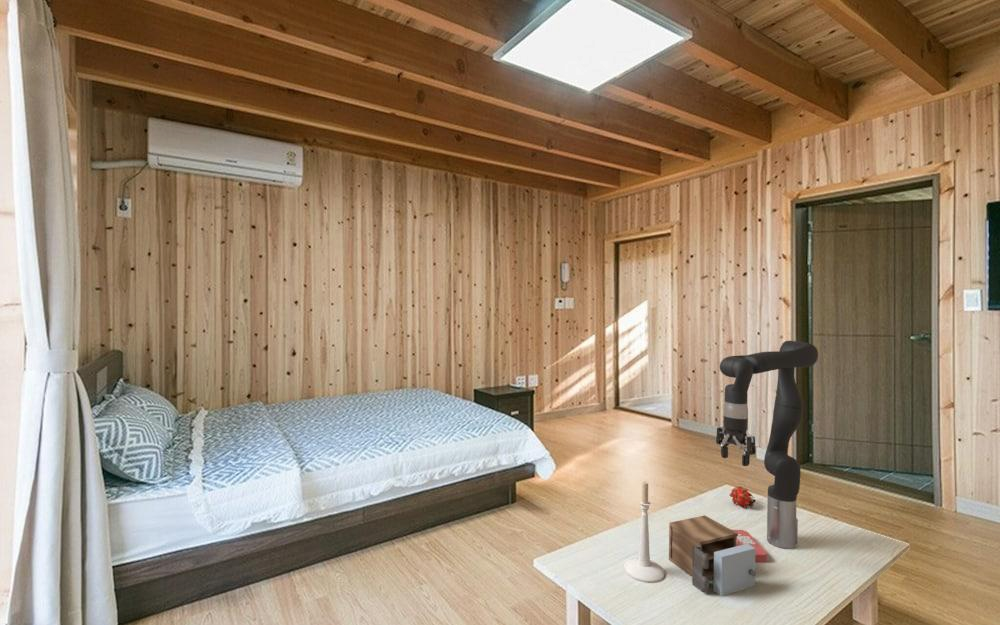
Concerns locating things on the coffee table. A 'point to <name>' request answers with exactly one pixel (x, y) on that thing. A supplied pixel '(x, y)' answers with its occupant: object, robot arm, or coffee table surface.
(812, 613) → the coffee table surface
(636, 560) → the candlestick
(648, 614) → the coffee table surface
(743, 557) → the door
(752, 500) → the dragon fruit
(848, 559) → the coffee table surface
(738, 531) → the plaque
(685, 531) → the cabinet
